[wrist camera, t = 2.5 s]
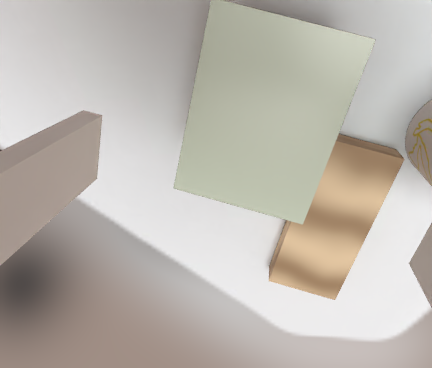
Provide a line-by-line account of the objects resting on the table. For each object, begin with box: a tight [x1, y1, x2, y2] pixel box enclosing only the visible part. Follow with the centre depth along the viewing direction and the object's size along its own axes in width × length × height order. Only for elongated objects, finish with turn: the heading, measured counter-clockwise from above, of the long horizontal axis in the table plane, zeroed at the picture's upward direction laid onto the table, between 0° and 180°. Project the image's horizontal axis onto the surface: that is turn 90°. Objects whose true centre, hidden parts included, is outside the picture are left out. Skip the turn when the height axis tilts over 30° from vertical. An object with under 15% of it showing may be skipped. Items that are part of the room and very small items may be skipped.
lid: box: [174, 0, 375, 225], centre depth 25 cm, size 12×10×3 cm
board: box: [269, 134, 404, 300], centre depth 36 cm, size 16×7×2 cm, turn 167°
